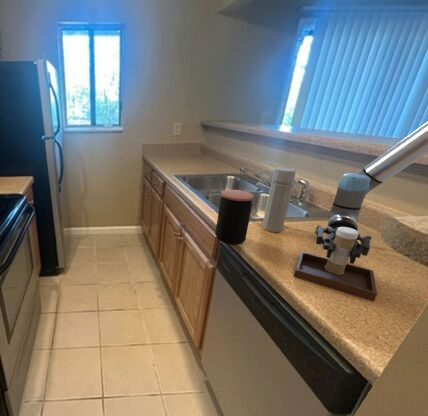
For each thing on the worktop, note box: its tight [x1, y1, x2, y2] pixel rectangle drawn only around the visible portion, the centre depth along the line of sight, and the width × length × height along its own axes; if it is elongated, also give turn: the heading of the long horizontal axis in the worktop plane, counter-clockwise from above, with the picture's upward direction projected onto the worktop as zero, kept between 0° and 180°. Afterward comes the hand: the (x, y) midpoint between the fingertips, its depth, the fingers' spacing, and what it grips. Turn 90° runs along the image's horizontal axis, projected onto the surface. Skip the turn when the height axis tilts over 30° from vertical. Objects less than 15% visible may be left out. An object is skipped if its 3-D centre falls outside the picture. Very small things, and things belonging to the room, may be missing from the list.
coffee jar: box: [214, 189, 255, 245], centre depth 102 cm, size 11×11×18 cm
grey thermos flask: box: [262, 166, 297, 233], centre depth 107 cm, size 9×8×25 cm
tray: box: [293, 251, 378, 302], centre depth 81 cm, size 18×14×2 cm
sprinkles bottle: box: [325, 227, 360, 275], centre depth 78 cm, size 5×5×14 cm
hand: (341, 256), depth 74 cm, fingers closed on sprinkles bottle, 4 cm apart
